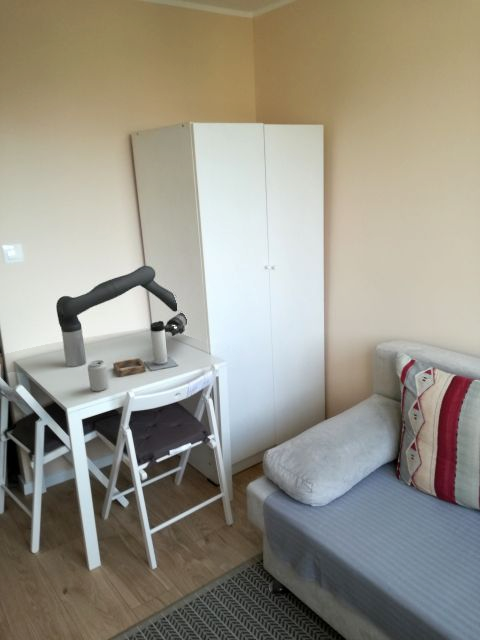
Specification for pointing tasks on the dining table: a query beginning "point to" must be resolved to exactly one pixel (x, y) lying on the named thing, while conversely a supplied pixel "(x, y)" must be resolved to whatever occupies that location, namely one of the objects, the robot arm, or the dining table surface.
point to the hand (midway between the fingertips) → (164, 333)
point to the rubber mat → (155, 367)
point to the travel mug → (159, 343)
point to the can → (98, 375)
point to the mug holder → (129, 370)
